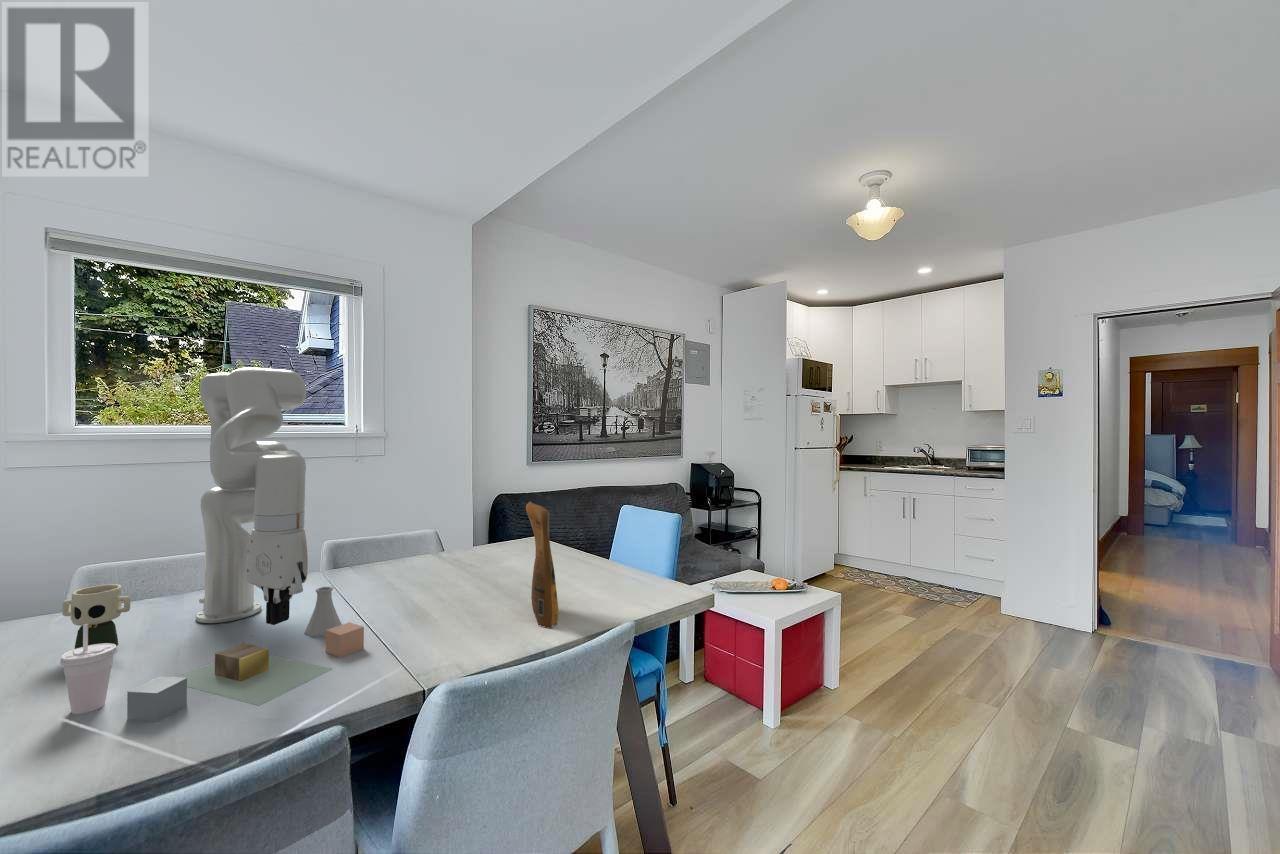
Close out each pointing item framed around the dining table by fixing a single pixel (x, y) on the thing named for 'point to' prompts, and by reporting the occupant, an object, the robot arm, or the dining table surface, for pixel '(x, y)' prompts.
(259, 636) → the dining table surface
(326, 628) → the flask
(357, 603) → the dining table surface
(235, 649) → the walnut block
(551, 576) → the pancake mix bag
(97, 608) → the character mug
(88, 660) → the smoothie
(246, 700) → the rubber mat
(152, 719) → the slate block
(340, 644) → the terracotta block
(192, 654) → the dining table surface
